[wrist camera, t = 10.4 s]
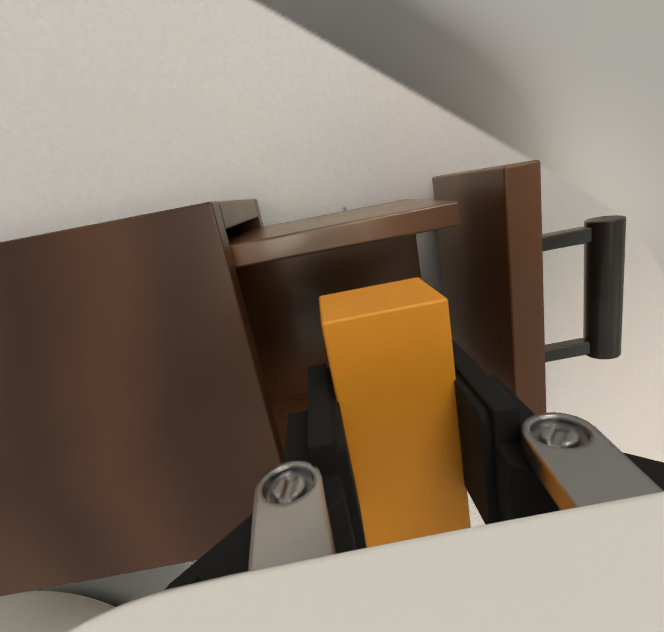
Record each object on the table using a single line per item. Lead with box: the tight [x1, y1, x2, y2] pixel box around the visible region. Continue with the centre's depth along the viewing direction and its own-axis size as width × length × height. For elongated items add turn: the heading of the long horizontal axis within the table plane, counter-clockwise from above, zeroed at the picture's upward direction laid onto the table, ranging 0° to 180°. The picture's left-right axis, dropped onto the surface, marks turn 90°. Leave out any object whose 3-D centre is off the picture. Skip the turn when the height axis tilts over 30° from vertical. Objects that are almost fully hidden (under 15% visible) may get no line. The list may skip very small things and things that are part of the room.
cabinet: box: [0, 199, 284, 597], centre depth 18 cm, size 15×13×10 cm
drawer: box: [227, 160, 626, 453], centre depth 18 cm, size 18×12×8 cm, turn 100°
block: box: [319, 277, 471, 548], centre depth 11 cm, size 7×3×2 cm, turn 10°
